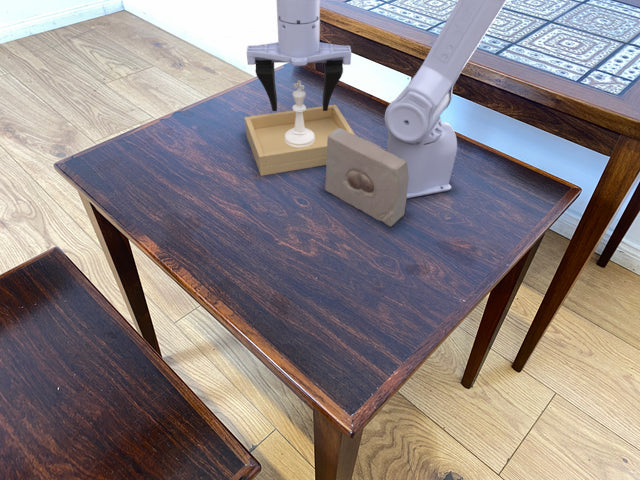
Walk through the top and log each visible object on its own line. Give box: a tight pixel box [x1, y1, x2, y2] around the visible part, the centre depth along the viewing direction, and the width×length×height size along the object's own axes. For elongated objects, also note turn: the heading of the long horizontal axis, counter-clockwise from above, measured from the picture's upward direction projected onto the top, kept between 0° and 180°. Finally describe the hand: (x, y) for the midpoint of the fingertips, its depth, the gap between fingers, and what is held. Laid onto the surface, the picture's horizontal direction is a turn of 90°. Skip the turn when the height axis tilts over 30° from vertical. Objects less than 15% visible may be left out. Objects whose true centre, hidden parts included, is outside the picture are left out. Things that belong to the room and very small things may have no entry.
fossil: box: [324, 128, 409, 228], centre depth 68 cm, size 12×4×10 cm, turn 49°
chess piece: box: [284, 79, 315, 148], centre depth 77 cm, size 5×5×10 cm
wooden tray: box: [244, 104, 356, 177], centre depth 80 cm, size 16×12×4 cm
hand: (299, 107), depth 76 cm, fingers open, 7 cm apart
